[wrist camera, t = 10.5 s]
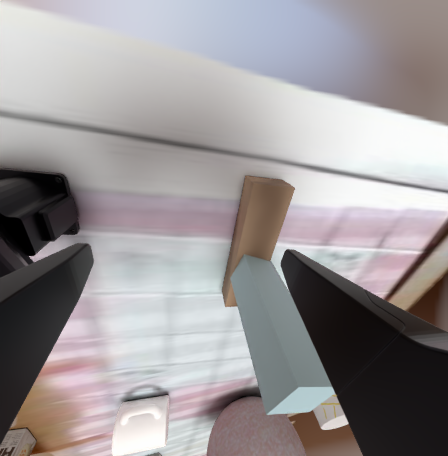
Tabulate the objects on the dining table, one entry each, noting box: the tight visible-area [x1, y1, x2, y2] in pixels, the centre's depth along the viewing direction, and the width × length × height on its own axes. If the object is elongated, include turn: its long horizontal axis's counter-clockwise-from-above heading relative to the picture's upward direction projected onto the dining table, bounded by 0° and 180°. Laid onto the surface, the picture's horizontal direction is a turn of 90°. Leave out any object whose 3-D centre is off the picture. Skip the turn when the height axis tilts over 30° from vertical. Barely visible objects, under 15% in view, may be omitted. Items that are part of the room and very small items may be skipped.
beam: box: [222, 176, 295, 307], centre depth 24 cm, size 4×18×3 cm, turn 171°
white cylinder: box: [313, 394, 349, 430], centre depth 40 cm, size 8×8×12 cm
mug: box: [112, 395, 169, 456], centre depth 39 cm, size 12×10×8 cm
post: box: [230, 254, 335, 415], centre depth 18 cm, size 4×4×13 cm
